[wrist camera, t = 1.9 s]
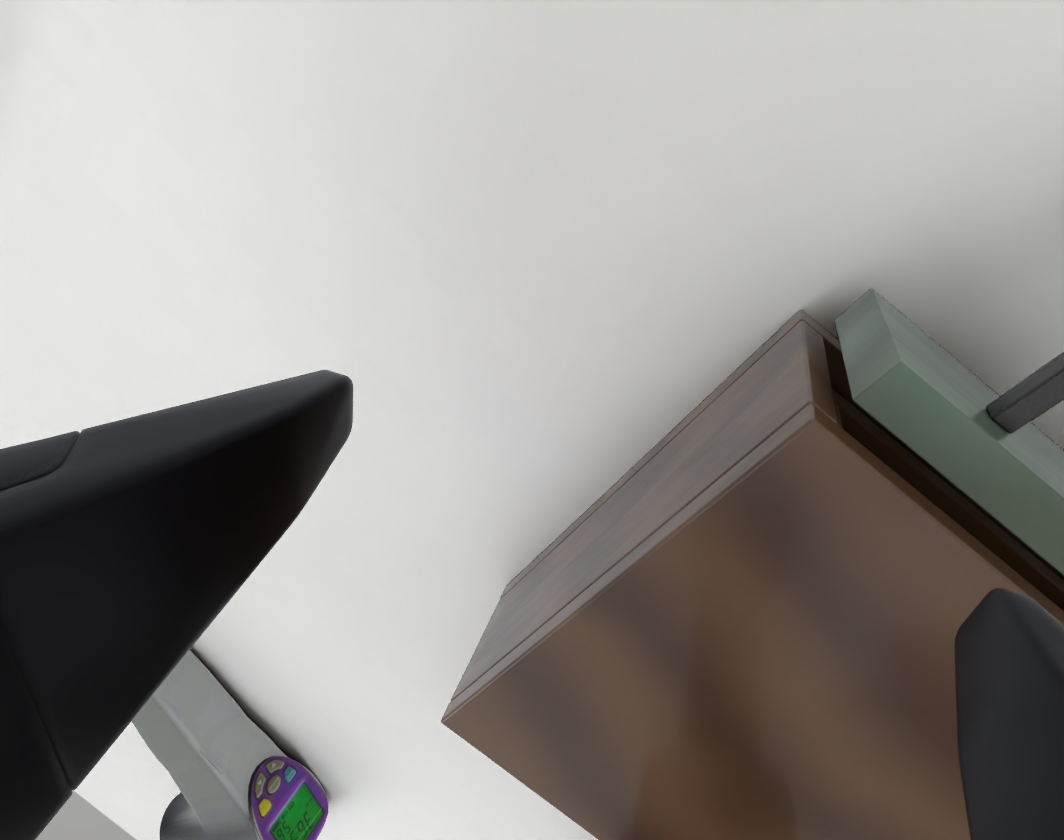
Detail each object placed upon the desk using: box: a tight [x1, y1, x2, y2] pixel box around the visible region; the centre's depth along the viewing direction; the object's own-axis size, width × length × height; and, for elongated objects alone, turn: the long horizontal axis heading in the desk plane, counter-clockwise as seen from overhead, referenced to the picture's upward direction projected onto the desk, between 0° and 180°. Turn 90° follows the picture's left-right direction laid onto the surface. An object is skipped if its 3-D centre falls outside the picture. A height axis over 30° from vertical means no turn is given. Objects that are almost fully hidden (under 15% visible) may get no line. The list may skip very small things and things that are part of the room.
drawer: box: [832, 288, 1064, 611], centre depth 18 cm, size 19×11×5 cm, turn 144°
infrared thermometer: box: [132, 650, 328, 840], centre depth 39 cm, size 5×12×15 cm
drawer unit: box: [441, 310, 1064, 840], centre depth 21 cm, size 16×13×7 cm
